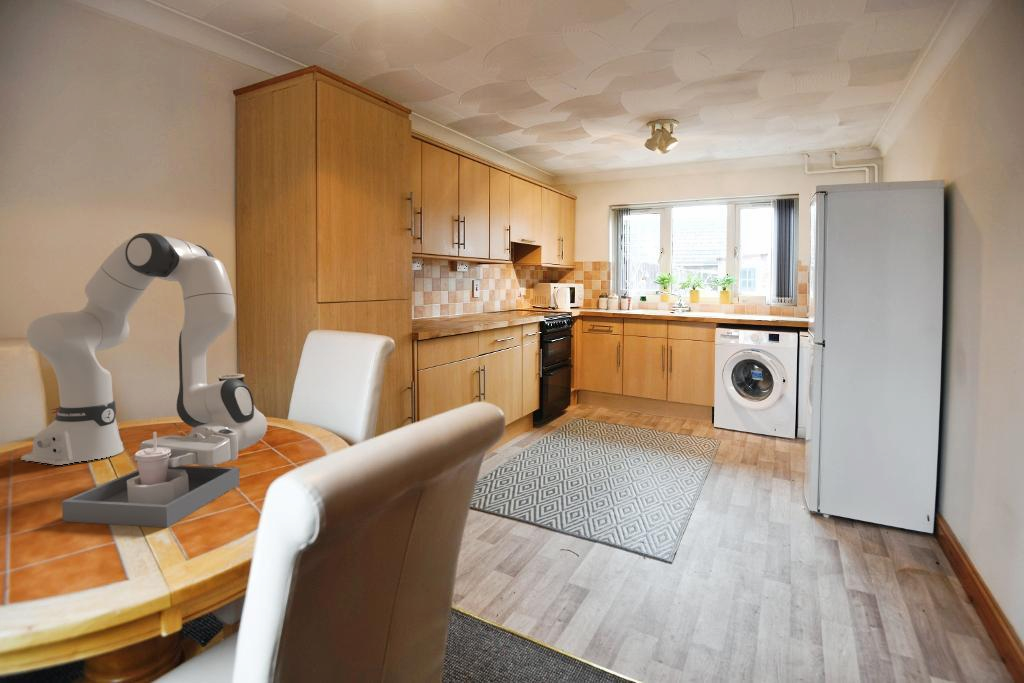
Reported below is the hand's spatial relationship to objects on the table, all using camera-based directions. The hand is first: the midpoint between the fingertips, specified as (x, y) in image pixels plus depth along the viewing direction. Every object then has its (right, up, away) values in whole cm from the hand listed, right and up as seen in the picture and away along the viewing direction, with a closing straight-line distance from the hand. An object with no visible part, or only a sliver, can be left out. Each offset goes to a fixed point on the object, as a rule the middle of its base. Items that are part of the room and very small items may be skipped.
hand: (152, 461), depth 109 cm
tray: (0, -9, +2) cm, 9 cm away
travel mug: (-13, -4, +56) cm, 58 cm away
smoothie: (-1, -8, +2) cm, 8 cm away
